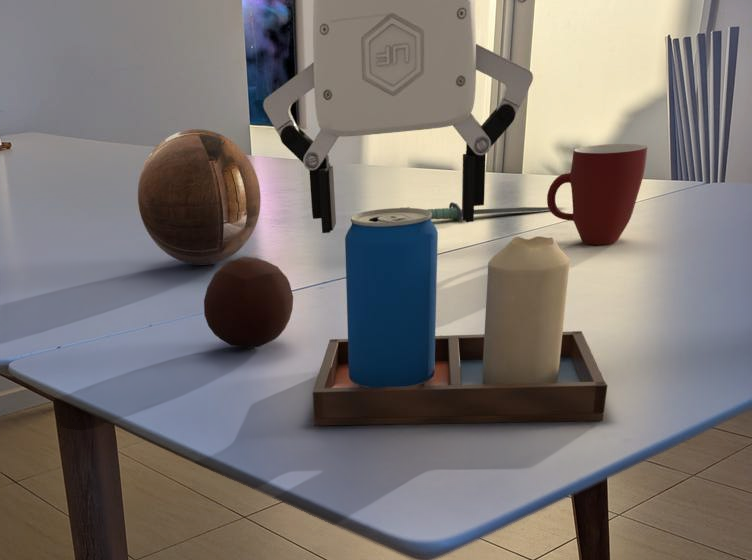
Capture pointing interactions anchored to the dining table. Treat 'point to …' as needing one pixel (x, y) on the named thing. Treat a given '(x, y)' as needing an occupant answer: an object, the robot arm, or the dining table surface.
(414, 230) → the beverage can
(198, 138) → the brown shiny sphere
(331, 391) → the sorting tray
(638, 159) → the mug
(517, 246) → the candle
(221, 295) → the dark brown ball
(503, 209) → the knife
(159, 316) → the dining table surface
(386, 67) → the robot arm
